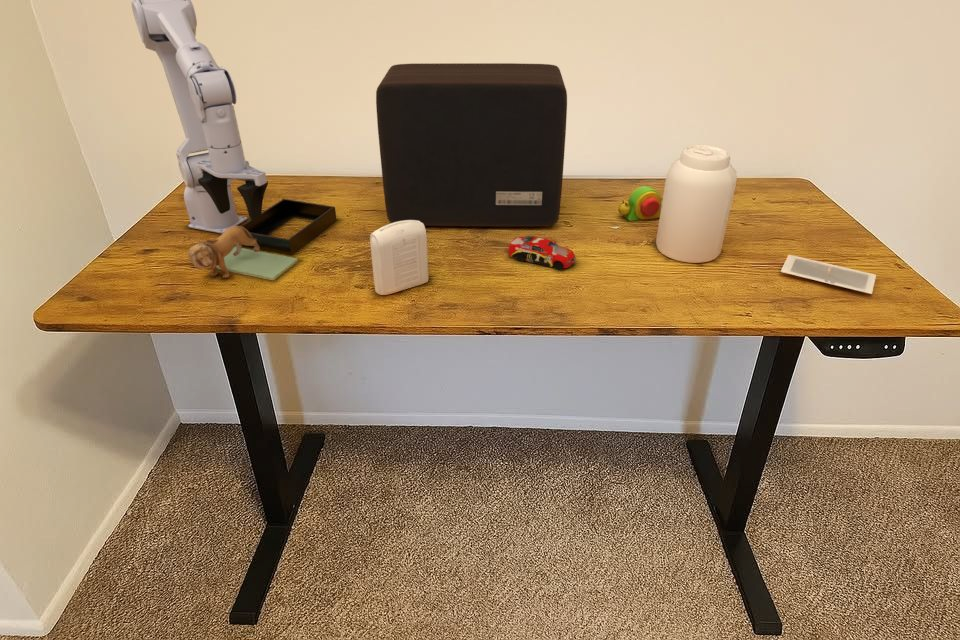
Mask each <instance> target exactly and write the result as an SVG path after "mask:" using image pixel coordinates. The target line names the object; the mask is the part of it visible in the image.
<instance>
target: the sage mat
mask: <svg viewBox="0 0 960 640" xmlns="http://www.w3.org/2000/svg"><path fill="white" fill-rule="evenodd" d="M236 249H237V248H236V246H234V248H233V250H232V251H231V252H230V253H229V254H228V255H227V256H225V257H224V261H225V265H226V268H227V270H228V271H229V273H234V274H239V275H244V276H249V277H255V278H259V279H264V280H269V281H273V282H274V281H276V279H278V278H279V277H280V276H281V275H283V274H284V273H285V272H286V271H288V270H289V269H290V268H291V267H293V266H295V264H297V263H298V262H299V258H297V257H293V256H288V255H281V254H277V253H272V252H271V253H270V252H267V251H265V252H264V251H260V250H259V251H258V252H254V251H253V249H251V248H246V247H241V251H240V254H239V255H237V256H234V255H233V253H234V252H235V251H236ZM216 267H217V270H220V271H222V270H221V268H220V267H219V266H218V265H217V266H216Z"/></svg>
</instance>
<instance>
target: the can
mask: <svg viewBox="0 0 960 640" xmlns="http://www.w3.org/2000/svg"><path fill="white" fill-rule="evenodd" d="M737 182H738V175H737V171H736V168H735V167H734V166H733V165H732V164H731V155H730V153H729V151H727V150H725V149H722V148H720V147H717V146H712V145H704V144H703V145H702V144H698V145H691V146H686V147H685V148H683V150H682V151H681V153H680V157H679V158H677V159H676V160H674V161H673V162H672V163H670V166H669V168H668V171H667V173H666V176H665V182H664V189H663V195H662V199H661V205H662V207H661V213H660V218H659V220H658V225H657V232H656V238H655V239H656V240H655V244H656V248H657V250H658V251H659V252H660V253H661V254H662V255H664V256H665V257H667V258H669V259H672V260H674V261H677V262H683V263H689V264H691V263H692V264H693V263H695V264H700V263H701V264H702V263H707V262H711V261H714V260H715V259H717V258H718V257H719V255H720V254H721V252H722V249H723V248H722V247H723V244H724V239H725V234H726V230H727V227H728V221H729V217H730V213H731V208H732V204H733V199H734V195H735V191H736V187H737Z"/></svg>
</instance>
